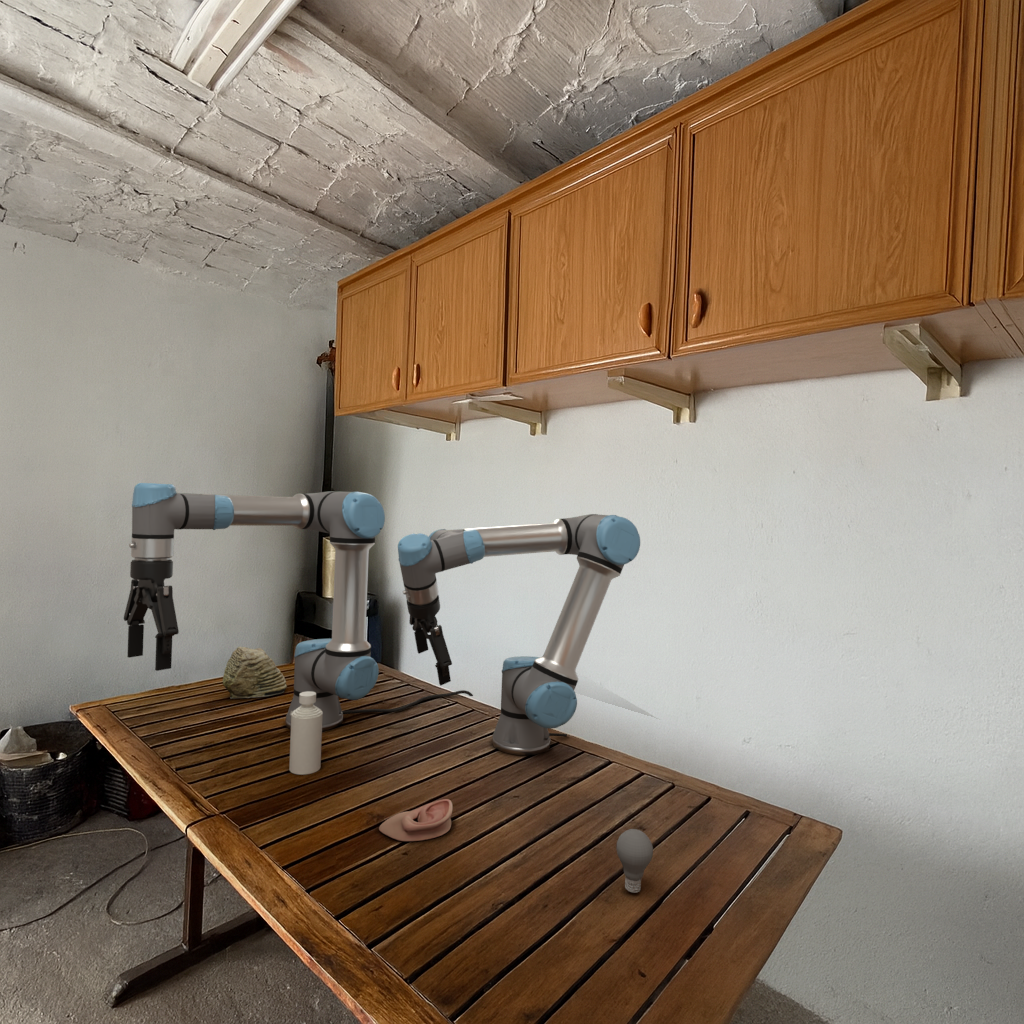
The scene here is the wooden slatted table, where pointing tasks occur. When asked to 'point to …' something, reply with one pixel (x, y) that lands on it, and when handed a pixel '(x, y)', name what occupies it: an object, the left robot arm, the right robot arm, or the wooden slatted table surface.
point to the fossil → (252, 674)
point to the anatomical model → (420, 822)
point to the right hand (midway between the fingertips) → (433, 666)
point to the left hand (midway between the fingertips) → (148, 662)
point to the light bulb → (634, 857)
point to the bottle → (305, 739)
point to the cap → (307, 697)
